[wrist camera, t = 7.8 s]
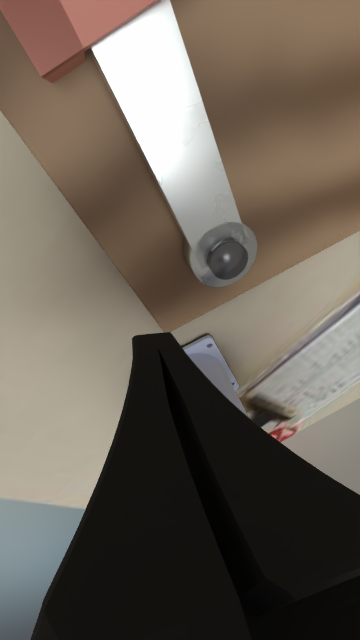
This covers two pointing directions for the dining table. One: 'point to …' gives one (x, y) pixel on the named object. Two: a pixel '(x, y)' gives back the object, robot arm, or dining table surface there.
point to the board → (230, 136)
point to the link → (176, 141)
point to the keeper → (66, 28)
